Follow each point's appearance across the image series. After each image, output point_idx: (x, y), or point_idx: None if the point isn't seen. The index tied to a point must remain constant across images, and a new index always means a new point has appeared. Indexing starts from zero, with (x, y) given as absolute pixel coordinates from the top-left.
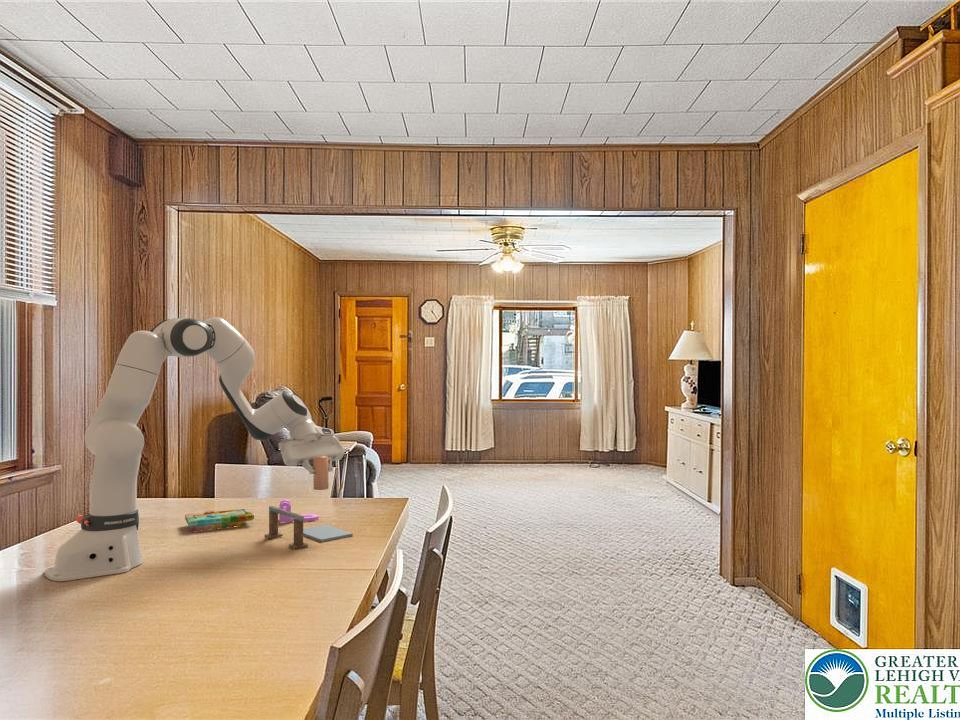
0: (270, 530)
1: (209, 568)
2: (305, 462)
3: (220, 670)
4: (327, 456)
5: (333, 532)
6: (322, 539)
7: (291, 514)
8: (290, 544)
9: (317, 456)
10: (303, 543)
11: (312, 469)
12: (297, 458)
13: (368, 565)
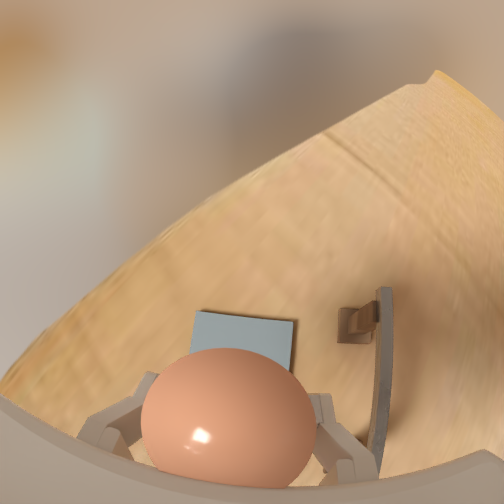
0: None
1: (496, 305)
2: (371, 456)
3: (473, 108)
4: (161, 385)
5: None
6: (289, 322)
7: (392, 342)
8: (370, 336)
9: (236, 478)
10: (344, 322)
11: (324, 400)
12: (449, 463)
13: (315, 142)
